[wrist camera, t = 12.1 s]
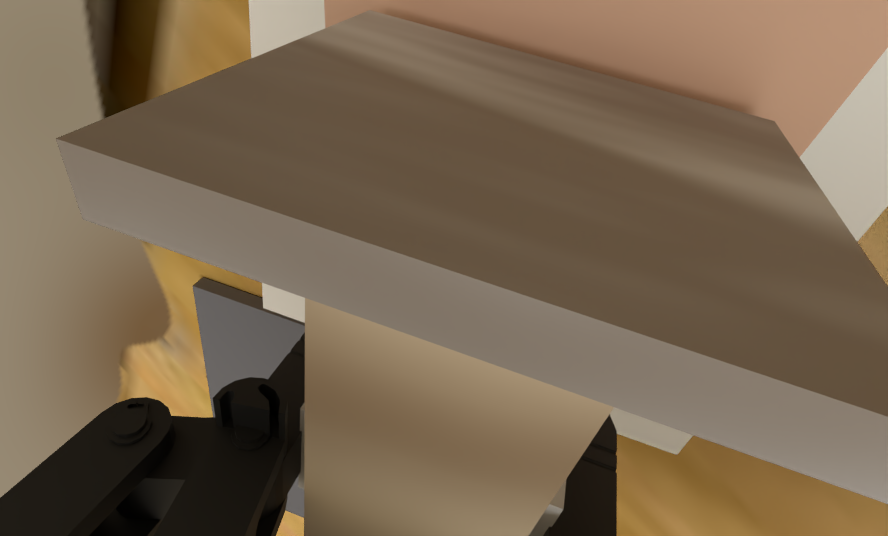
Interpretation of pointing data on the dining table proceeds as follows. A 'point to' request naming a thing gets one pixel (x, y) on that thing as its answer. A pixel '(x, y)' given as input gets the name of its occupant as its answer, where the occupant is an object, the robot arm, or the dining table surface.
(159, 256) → the dining table surface
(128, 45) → the dining table surface
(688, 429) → the push tool
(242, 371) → the mat
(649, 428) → the board
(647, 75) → the tile
